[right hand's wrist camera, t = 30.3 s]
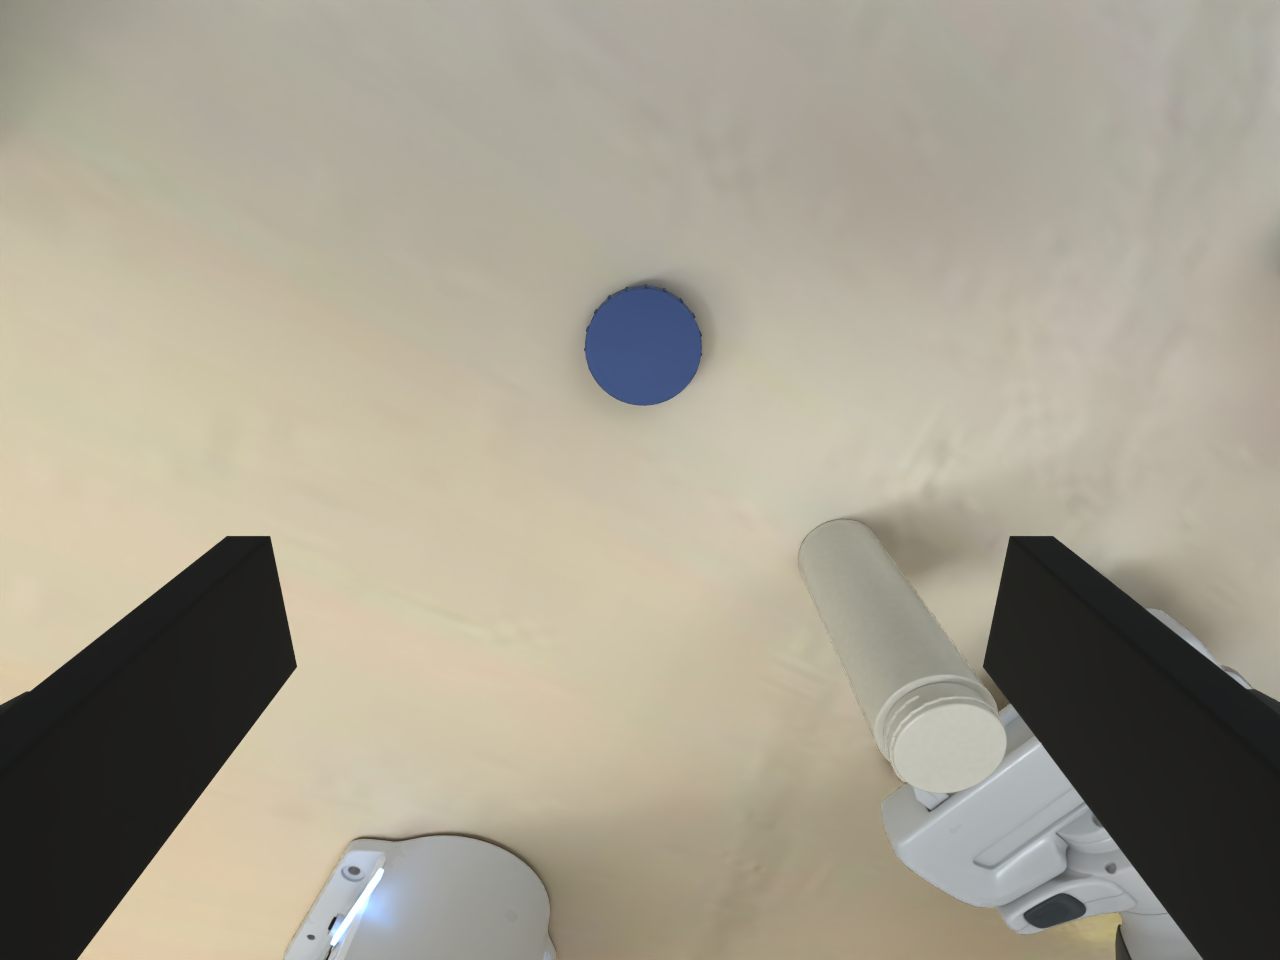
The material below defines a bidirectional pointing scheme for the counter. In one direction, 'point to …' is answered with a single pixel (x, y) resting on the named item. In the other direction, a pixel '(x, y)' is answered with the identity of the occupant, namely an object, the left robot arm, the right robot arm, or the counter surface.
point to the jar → (901, 663)
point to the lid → (643, 345)
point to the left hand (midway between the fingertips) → (959, 682)
